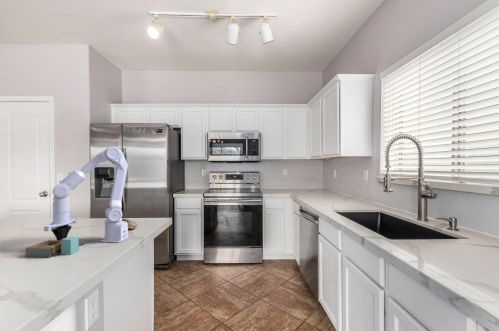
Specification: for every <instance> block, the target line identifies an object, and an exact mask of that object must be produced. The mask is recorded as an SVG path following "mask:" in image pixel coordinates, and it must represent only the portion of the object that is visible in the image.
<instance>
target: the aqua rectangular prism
mask: <svg viewBox="0 0 499 331" xmlns="http://www.w3.org/2000/svg"><path fill="white" fill-rule="evenodd" d="M79 240H80V239H79V236H67V238H64V239H61V254H60V255H61V256H64V255H65V256H71V255H74V254H76V253H79V247H80V246H79V243H80V242H79Z"/></svg>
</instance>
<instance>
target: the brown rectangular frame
mask: <svg viewBox="0 0 499 331" xmlns="http://www.w3.org/2000/svg"><path fill="white" fill-rule="evenodd" d="M30 247H53V256H54V253H56V252H59V251H61V240H57V239H52V240H51V239H48V240H46V241H43V242H40V243H36V244H34V245H31V246H30Z"/></svg>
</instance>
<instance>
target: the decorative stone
mask: <svg viewBox="0 0 499 331" xmlns="http://www.w3.org/2000/svg"><path fill="white" fill-rule="evenodd" d="M121 219H122V221H125V222H127V223H128V229H131V230H135V229H136V227H137V226H138V223H137V222H136V221H135V220H129V219H127V218H121Z"/></svg>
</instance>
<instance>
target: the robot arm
mask: <svg viewBox="0 0 499 331" xmlns="http://www.w3.org/2000/svg"><path fill="white" fill-rule="evenodd" d="M108 161H109V162H110V163H112V164H113V166H114V167H115V174H114V178H113V185H112V189H111V195H110V200H109V202H108V206H107V207H106V209H105V210H104V214H105V217H106V219H105V220H104V239H101V240H100V241H99V242H100V243H121V242H123V241H125V240H126V239H129V230H128V223H127V222H125V221H122V219H123V211H122V208H123V206H122V205H123V204H122V201H123V200H122V199H123V194H124V189H125V184H126V180H127V179H126V178H127V173H128V168H129V164H128V162H127V160H126V158H125V155H124V153H123V151H122V150H121V149H120V148H118V147H116V146H109V147H107V148H105V149H104V150H102V151H101V152H100V153H98V154H96V155H95V156H94V157H92V158H91V159H90V160H89V161H88V162H87V163H86V164H84V166H82V168H80V169H79V170H78V169H77V170H73V171H69V172H68V175H66V177H65V178H63V179H61V180H59V181H58V183H59V184H58V183H57V184H56V185H55V186H54V187H53V188H52V194H53V197H52V200H53V202H52V222H51V223H49V224H47V225H44V226H43V231H44V232H50V231H51V232H52V233H53V235H54V236H55V240H61V239H64V238H67V237H68V234H69V232H70V231H71V229H72V224H77V223H78V220H77V219H78V218H70V217H71V216H70V214H71V212H70V211H71V210H70V207H71V204H70V197H69V195H70V193H71V191H72V190H75V189H77V187H78V186H79V185H81V184H82V183H83V182H84V181H85V180H86V175H87V174H88V173H89V172H91V171H92V170H93V169H94V168H96V167H97V166H98V165H99V164H101V163H104V162H108Z"/></svg>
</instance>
